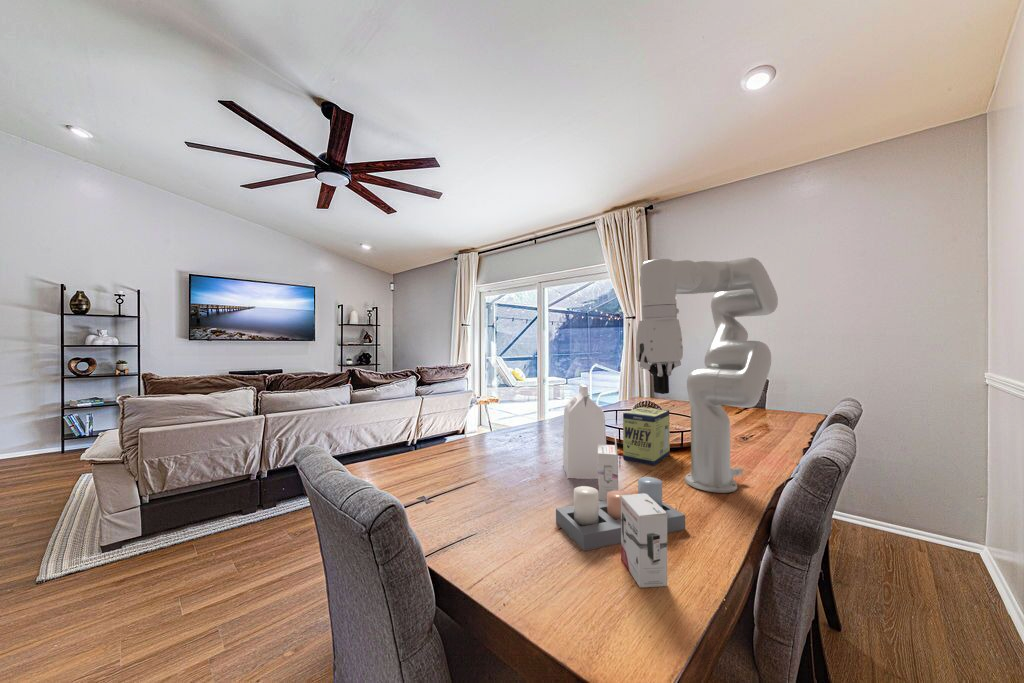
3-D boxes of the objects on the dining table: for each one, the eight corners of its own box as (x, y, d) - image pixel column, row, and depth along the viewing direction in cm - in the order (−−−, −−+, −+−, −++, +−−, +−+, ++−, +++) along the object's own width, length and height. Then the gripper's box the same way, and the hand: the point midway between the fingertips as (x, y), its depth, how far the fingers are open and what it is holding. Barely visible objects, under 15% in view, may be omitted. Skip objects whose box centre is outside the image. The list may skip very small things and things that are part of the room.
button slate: (651, 502, 86) (651, 475, 86) (667, 511, 81) (667, 483, 81) (633, 505, 84) (633, 478, 84) (648, 514, 80) (648, 486, 80)
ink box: (619, 557, 68) (619, 493, 68) (645, 556, 69) (645, 492, 69) (639, 589, 60) (639, 515, 60) (669, 587, 60) (668, 513, 60)
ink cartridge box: (597, 487, 101) (596, 432, 101) (616, 488, 100) (616, 433, 100) (598, 500, 93) (597, 441, 93) (618, 502, 92) (618, 441, 92)
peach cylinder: (622, 516, 83) (621, 489, 83) (636, 526, 79) (636, 498, 79) (602, 519, 82) (602, 492, 82) (616, 530, 77) (615, 501, 77)
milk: (608, 478, 108) (607, 387, 108) (567, 478, 108) (567, 388, 108) (598, 464, 120) (598, 383, 120) (562, 465, 120) (562, 383, 120)
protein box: (622, 459, 125) (622, 412, 125) (640, 449, 137) (640, 406, 136) (654, 466, 118) (654, 416, 118) (670, 454, 130) (670, 409, 130)
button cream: (590, 512, 81) (590, 484, 81) (603, 523, 76) (603, 493, 76) (569, 516, 79) (569, 488, 79) (581, 527, 74) (581, 497, 74)
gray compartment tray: (647, 505, 90) (646, 493, 90) (685, 529, 78) (685, 514, 78) (555, 522, 82) (555, 508, 82) (583, 551, 71) (583, 535, 71)
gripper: (673, 314, 93) (675, 388, 93) (621, 315, 88) (624, 393, 88) (697, 312, 86) (699, 392, 86) (642, 313, 81) (645, 398, 81)
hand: (661, 392), depth 87 cm, fingers closed
